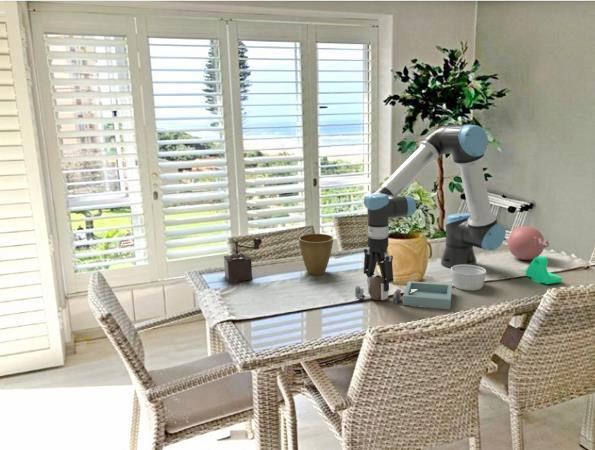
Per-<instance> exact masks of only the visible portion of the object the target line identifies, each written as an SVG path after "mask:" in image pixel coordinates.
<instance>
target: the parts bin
mask: <svg viewBox="0 0 595 450" xmlns="http://www.w3.org/2000/svg"><path fill="white" fill-rule="evenodd" d="M411 289H418V291H416V292H412V293H410V292H411ZM452 294H453V283H452V284H451V283H440V282H439V283H438V282H425V281H424V282H422V281H410V280H409V281H407V284H406V286H405V289H404V292H403V295H402V306H404V305H412V306H411V307H416V306H422V307H421V308H427V307H431V308H430V309H441V310H451V303H452Z"/></svg>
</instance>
